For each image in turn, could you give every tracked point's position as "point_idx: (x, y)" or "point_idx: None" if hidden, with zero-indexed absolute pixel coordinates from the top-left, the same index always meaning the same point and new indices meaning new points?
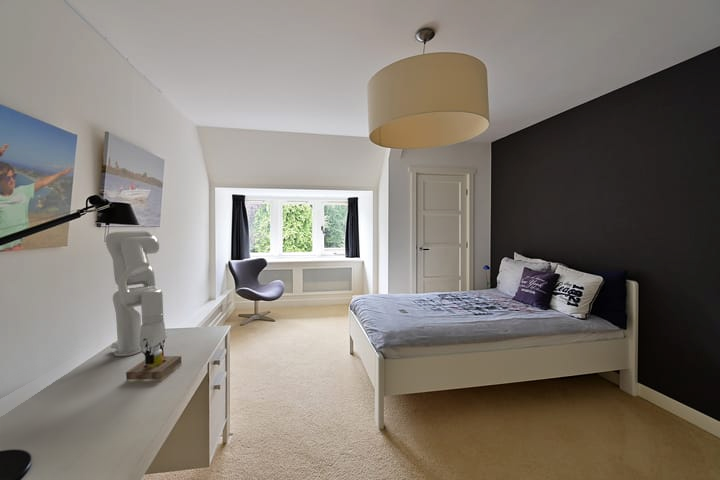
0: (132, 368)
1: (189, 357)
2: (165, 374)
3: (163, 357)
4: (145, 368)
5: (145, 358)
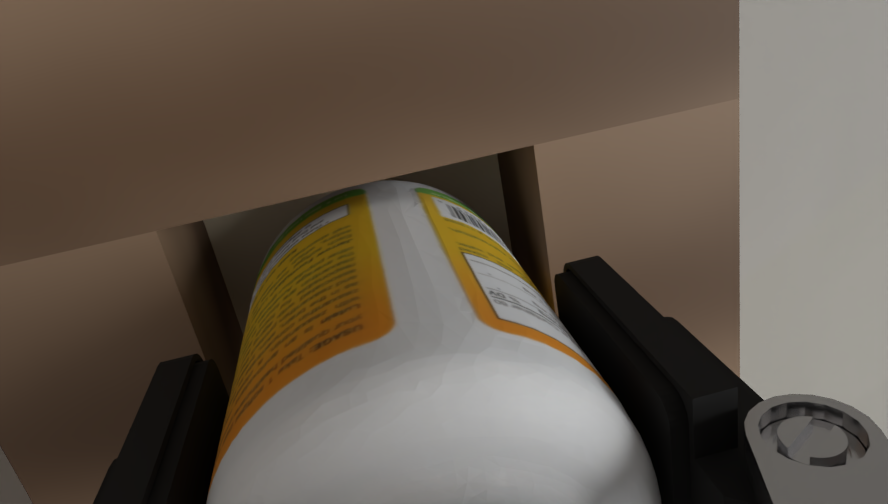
0: (12, 19)
1: (881, 349)
2: None
3: (682, 267)
4: (139, 351)
5: (123, 461)
